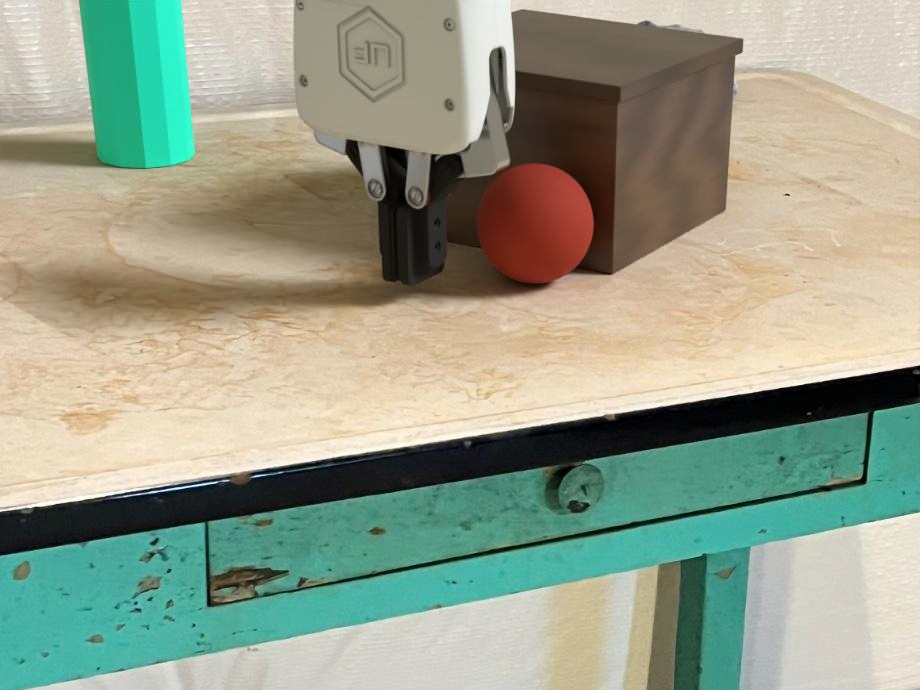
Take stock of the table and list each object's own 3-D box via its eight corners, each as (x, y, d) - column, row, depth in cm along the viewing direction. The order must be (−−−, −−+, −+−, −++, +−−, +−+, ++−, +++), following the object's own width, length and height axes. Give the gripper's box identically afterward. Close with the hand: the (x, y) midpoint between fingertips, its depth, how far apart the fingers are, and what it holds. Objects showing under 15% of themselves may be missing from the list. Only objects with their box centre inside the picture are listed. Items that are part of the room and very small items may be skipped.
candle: (79, 152, 107) (55, -48, 101) (164, 138, 111) (145, -56, 105) (127, 173, 104) (104, -34, 98) (213, 157, 107) (195, -43, 101)
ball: (486, 248, 82) (539, 137, 83) (438, 247, 88) (488, 143, 88) (582, 306, 86) (633, 200, 86) (530, 302, 91) (578, 201, 91)
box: (614, 277, 89) (620, 86, 84) (385, 230, 95) (379, 50, 90) (732, 209, 100) (744, 38, 95) (521, 171, 106) (521, 8, 101)
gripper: (217, -123, 77) (248, 270, 86) (498, -94, 70) (500, 327, 79) (319, -137, 82) (338, 233, 91) (587, -111, 76) (580, 283, 85)
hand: (414, 275), depth 85 cm, fingers closed
